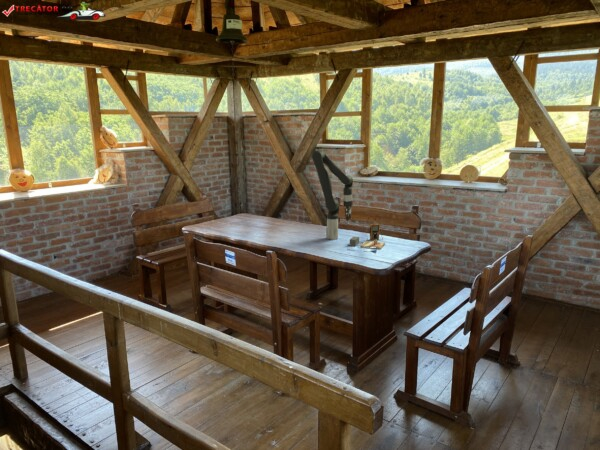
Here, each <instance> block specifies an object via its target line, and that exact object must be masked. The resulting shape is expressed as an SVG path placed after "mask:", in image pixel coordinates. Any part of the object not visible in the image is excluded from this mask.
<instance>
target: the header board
mask: <svg viewBox="0 0 600 450" xmlns="http://www.w3.org/2000/svg"><path fill="white" fill-rule="evenodd" d="M385 246H386V242H379V241H378V240H377V239H376V240H373V241H369V240H368V241H366V240H365V241H364V242H363V243H362V244H361V245H360V248H362V247H376V248H377V249H376V250H382V249H383V248H384V247H385Z"/></svg>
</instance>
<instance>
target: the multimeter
mask: <svg viewBox="0 0 600 450" xmlns="http://www.w3.org/2000/svg"><path fill="white" fill-rule="evenodd" d="M371 217H372V218H373V223H370V224H369V240H368V241H369V242H371V241H375V240H376V239H378V240H380V234H381V236H383V234H382V233H380V231H381V230H382V229H381V228H380V223H377V222H376V220H377V218H376V217H379V219H381V217H380V216H379V215H377V216H373V215H372V216H370V217H368V219H367V222H366V224H368V222H369V218H371ZM381 240H384V239H383V237H381Z"/></svg>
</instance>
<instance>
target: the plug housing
mask: <svg viewBox="0 0 600 450" xmlns="http://www.w3.org/2000/svg"><path fill="white" fill-rule="evenodd" d="M359 244H360V236H352V237H351V238H350V239H349V246H350V247H357V246H358V245H359Z"/></svg>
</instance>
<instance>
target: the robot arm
mask: <svg viewBox="0 0 600 450" xmlns="http://www.w3.org/2000/svg"><path fill="white" fill-rule="evenodd" d="M311 159H312V162H313V164H314V167H315V169H316V173H317V176H318V180H319V184H320V187H321V190H322V193H323V196H324V202H325V203H324V204H325V207H326V209H327V211H328V212H327V215H326V226H327V227H326V229H325V232H326V233H325V235H326V236H325V239H328V240H338V238H339V215H340V214H339V213H340V203H339V201H338V199H336V198H334V196H333V184H332V179H331V176H330V174H329V172H328V171H327V169H326V167H327V168H328V170H329V171H330V172H331V173H332V174H333V175H334V176H335V177H336V178H337V179H338V180H339V181H340V182H341V184H344V187H343V188H342V189H343V191H342V192H343V199H342V200H343V207H345V209H344V216H345V221H347V222H348V221H350V219H352V207H353V205H354V204H353V200H354V199H353V198H354V197H353V184H354V180H353V176H351V175H348V174H347V175H346V174H345V172H344V170H343V169H342V168H341V167H339V166H338V165H337V164H336V163H334V162H333V161H332V159H331V158H330V157H329V156H328V155H327V154H326V152H325V151H323V150H320V149H318V150H314V151H313V152H312V154H311ZM325 166H326V167H325Z"/></svg>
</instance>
